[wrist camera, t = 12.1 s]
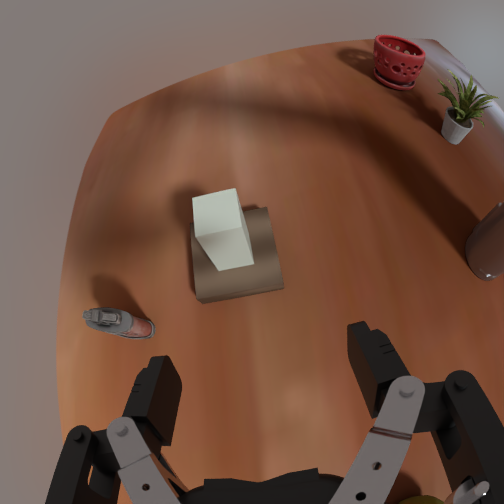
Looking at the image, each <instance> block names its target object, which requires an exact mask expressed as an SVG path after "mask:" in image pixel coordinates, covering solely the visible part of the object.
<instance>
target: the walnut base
mask: <svg viewBox="0 0 504 504" xmlns="http://www.w3.org/2000/svg"><path fill="white" fill-rule="evenodd" d="M243 215H244V219H245V222H246V225H247V229H248V232H249V238H250V243H251V249H252V255H253V260H254V264H252V265H247V266H242V267H237V268H232V269H227V270H222V271H218V269H217V268H216V266H215V265H214V263H213V262H212V261H211V259H210V258H209V256H208V255H207V253H206V252H205V250H204V249H203V247H202V246H201V245H200V243H199V242H198V240H197V239H196V237H195V228H194V222H193V223H190V234H191V247H192V259H193V270H194V280H195V290H196V299H197V300H198V301H200V302H201V303H202V304H205V303H211V302H217V301H222V300H228V299H233V298H239V297H244V296H249V295H254V294H260V293H265V292H270V291H275V290H280V289H284V283H283V278H282V273H281V269H280V264H279V259H278V255H277V250H276V245H275V241H274V236H273V232H272V227H271V223H270V218H269V214H268V210H267V207H263V208H258V209H253V210H249V211H244V212H243Z"/></svg>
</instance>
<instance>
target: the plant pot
mask: <svg viewBox="0 0 504 504" xmlns="http://www.w3.org/2000/svg"><path fill="white" fill-rule="evenodd" d="M382 42H383V44H382ZM389 44H391V46H388V45H389ZM396 46H399V47H400V49H399V50H397V49H396V48H395V47H396ZM405 50H407V51H409V53H410V55H409V54H405V53H404V51H405ZM414 53H415V54H416V56H415V55H414ZM424 60H425V52H424V51H423V49H421V48H420V47H419V46H418V45H416V44H414V43H412V42H410V41H408V40H406V39H403V38H400V37H396V36H391V35H378V36H376V38H375V42H374V61H375V65H376V67H375V68H374V71H373V72H374V75H375V77H376V78H377V79H378V80H379V81H380V82H381V83H383V84H384V85H386V86H388V87H391V88H393V89H397V90H401V91H402V90H410V89H412V88H414V86H415V79H416V78H417V76H418V75H419V73H420V72H421V69H422V67H423V64H424Z"/></svg>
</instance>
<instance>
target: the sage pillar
mask: <svg viewBox="0 0 504 504" xmlns="http://www.w3.org/2000/svg"><path fill="white" fill-rule="evenodd" d="M192 201H193V215H194V228H195V237H196V239H197V240H198V242H199V243H200V245H201V246H202V247H203V249H204V250H205V252H206V253H207V255H208V256H209V258H210V259H211V261H212V262H213V263H214V265H215V266H216V268H217V269H218V271H222V270H227V269H232V268H237V267H242V266H247V265H252V264H254V260H253V255H252V249H251V243H250V238H249V232H248V229H247V225H246V222H245V219H244V215H243V212H242V209H241V205H240V202H239V198H238V195H237V192H236V188H234V189H229V190H224V191H220V192H215V193H211V194H207V195H202V196H198V197H194V198H192Z"/></svg>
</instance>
